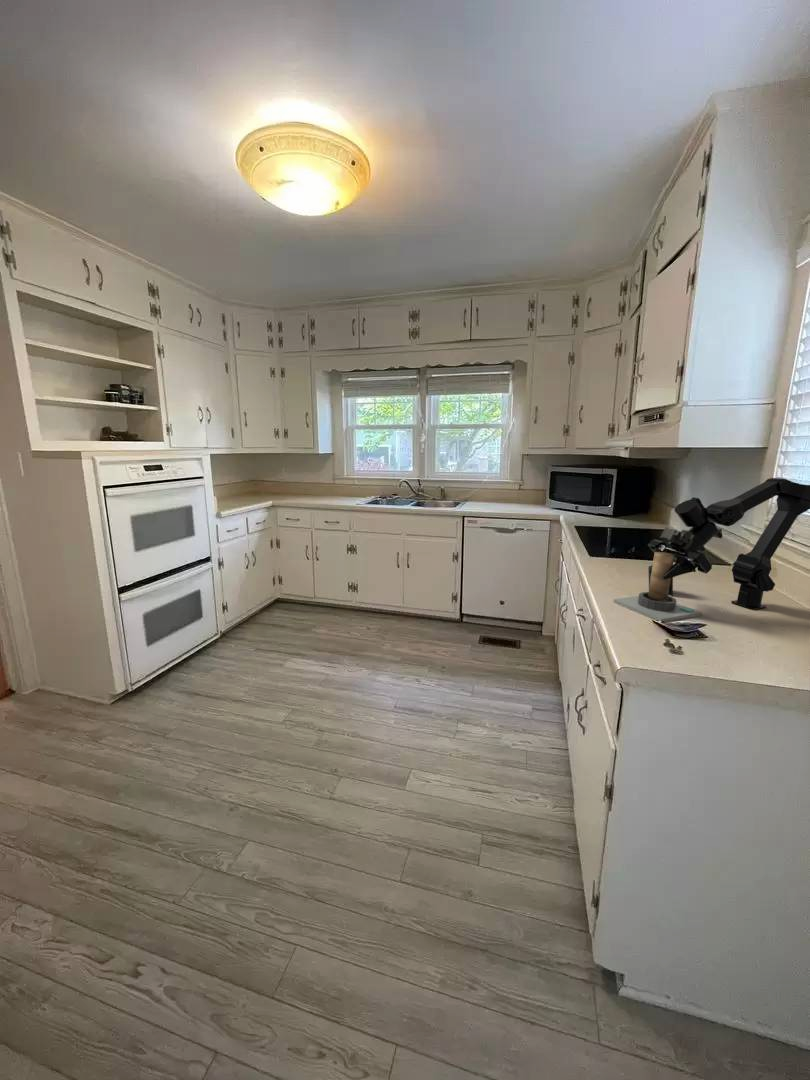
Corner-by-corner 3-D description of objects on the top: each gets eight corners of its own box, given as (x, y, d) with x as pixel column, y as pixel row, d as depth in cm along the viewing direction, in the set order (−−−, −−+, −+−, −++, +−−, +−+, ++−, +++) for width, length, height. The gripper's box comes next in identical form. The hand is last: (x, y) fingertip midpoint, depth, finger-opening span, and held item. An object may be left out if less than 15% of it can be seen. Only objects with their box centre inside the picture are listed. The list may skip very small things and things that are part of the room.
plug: (664, 595, 128) (671, 552, 125) (670, 600, 123) (677, 557, 120) (645, 593, 129) (652, 551, 126) (650, 598, 124) (657, 555, 121)
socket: (651, 596, 137) (652, 586, 136) (700, 615, 122) (702, 603, 122) (613, 602, 131) (614, 591, 130) (660, 622, 117) (662, 610, 116)
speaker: (675, 591, 142) (676, 561, 140) (672, 596, 138) (674, 565, 136) (649, 588, 147) (650, 559, 145) (646, 593, 143) (647, 563, 141)
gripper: (657, 513, 131) (620, 549, 131) (710, 524, 113) (667, 566, 113) (676, 538, 134) (639, 573, 134) (730, 553, 116) (688, 593, 116)
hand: (657, 575), depth 124 cm, fingers closed on plug, 5 cm apart
